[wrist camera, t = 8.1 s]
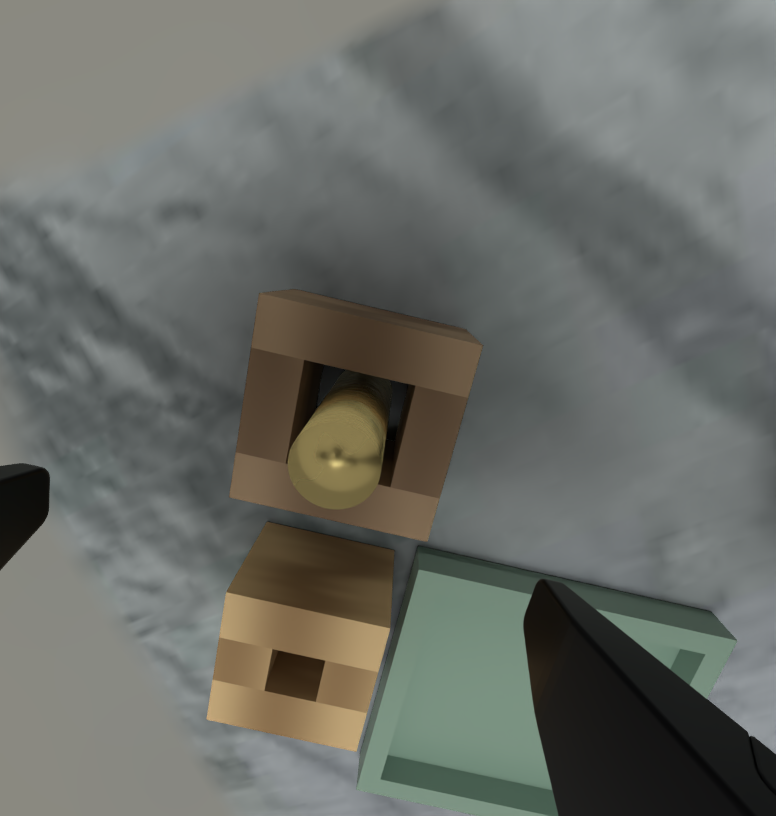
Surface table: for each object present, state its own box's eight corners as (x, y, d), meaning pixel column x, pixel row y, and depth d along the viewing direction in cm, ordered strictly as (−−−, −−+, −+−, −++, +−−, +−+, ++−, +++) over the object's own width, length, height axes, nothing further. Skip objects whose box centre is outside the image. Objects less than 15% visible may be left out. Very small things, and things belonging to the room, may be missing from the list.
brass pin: (385, 425, 20) (369, 518, 12) (330, 412, 20) (280, 498, 12) (397, 371, 19) (390, 434, 12) (341, 358, 19) (296, 412, 12)
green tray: (711, 611, 22) (737, 640, 20) (612, 808, 25) (627, 847, 24) (418, 545, 22) (419, 569, 20) (359, 754, 25) (356, 789, 23)
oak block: (394, 550, 22) (390, 628, 17) (367, 653, 23) (356, 751, 18) (266, 521, 22) (226, 592, 17) (248, 627, 23) (206, 719, 18)
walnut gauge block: (465, 329, 19) (483, 345, 14) (423, 484, 21) (427, 542, 16) (294, 289, 19) (259, 293, 14) (267, 449, 21) (229, 497, 16)
